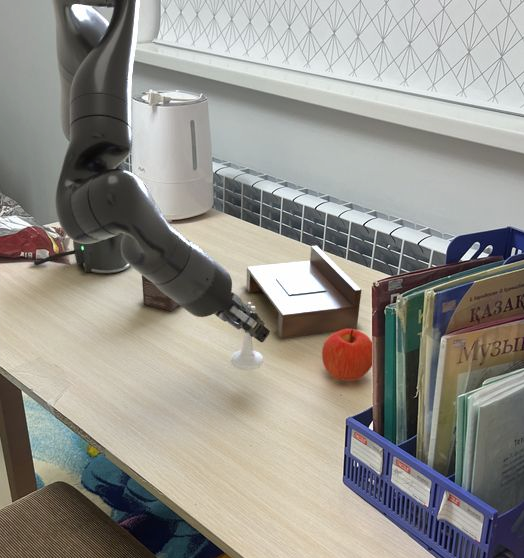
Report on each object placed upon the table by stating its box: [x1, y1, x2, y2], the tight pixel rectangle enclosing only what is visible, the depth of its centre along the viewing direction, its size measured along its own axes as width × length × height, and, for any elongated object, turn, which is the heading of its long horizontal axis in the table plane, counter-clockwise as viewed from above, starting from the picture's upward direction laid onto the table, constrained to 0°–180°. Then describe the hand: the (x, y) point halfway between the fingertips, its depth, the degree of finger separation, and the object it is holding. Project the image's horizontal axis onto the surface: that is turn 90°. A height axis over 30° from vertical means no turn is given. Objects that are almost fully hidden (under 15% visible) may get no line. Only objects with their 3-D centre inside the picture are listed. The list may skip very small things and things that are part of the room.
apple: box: [321, 329, 373, 381], centre depth 106 cm, size 8×8×8 cm
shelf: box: [245, 245, 362, 339], centre depth 125 cm, size 14×20×8 cm
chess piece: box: [230, 301, 264, 371], centre depth 102 cm, size 5×5×10 cm
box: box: [141, 274, 180, 312], centre depth 124 cm, size 6×6×7 cm
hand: (259, 332), depth 103 cm, fingers closed on chess piece
